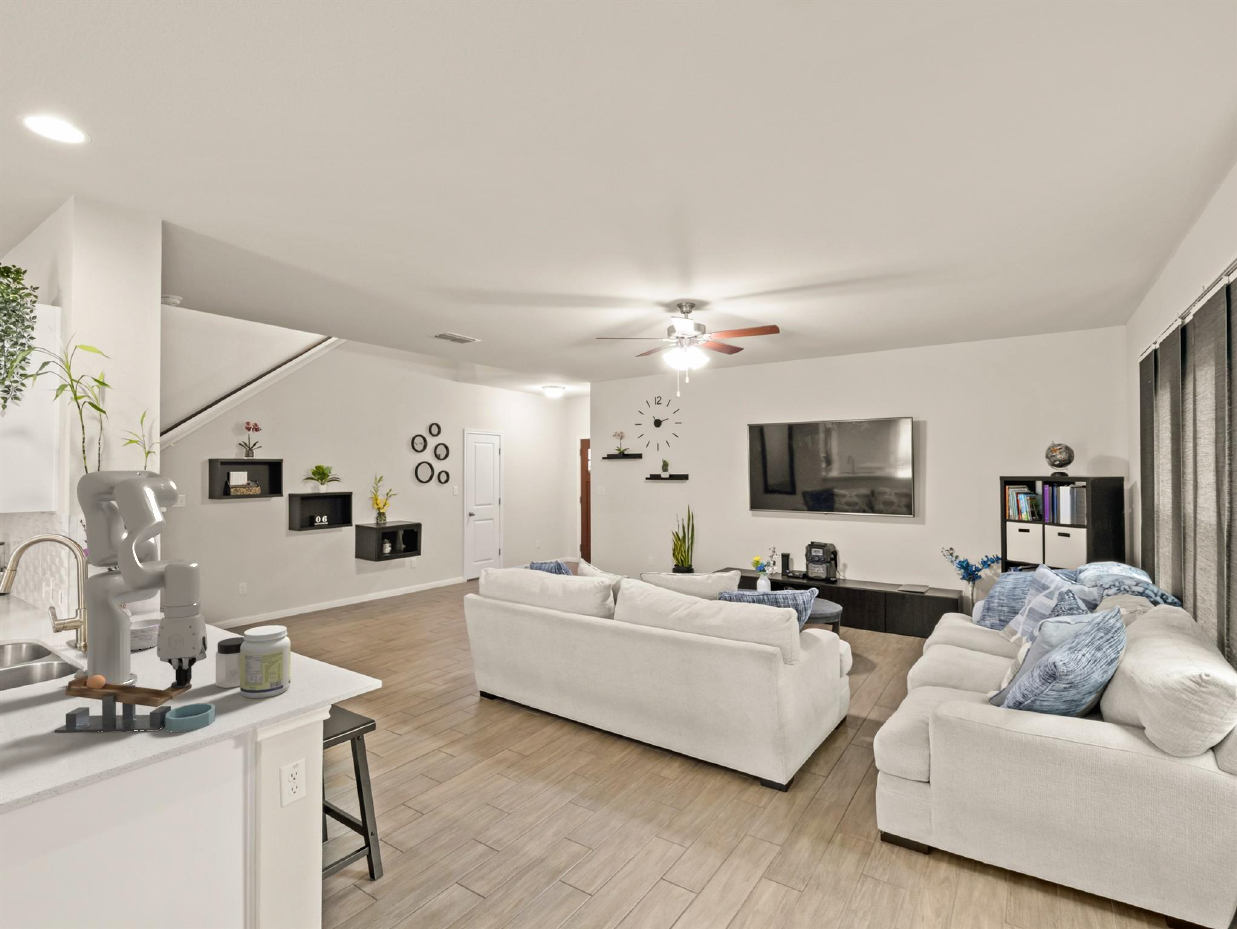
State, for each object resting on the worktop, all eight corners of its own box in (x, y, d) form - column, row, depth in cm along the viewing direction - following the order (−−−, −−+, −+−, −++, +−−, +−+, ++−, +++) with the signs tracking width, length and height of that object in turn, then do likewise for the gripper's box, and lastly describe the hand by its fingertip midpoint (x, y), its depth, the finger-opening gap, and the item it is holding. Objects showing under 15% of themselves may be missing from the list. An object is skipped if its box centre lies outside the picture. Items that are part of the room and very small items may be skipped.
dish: (156, 732, 150) (156, 719, 150) (182, 715, 159) (182, 703, 159) (199, 731, 150) (199, 718, 150) (223, 714, 160) (223, 702, 160)
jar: (216, 690, 176) (216, 647, 176) (215, 681, 183) (215, 639, 183) (253, 684, 181) (253, 642, 181) (251, 676, 188) (251, 635, 188)
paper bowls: (119, 643, 220) (119, 620, 220) (172, 638, 227) (172, 616, 227) (105, 656, 206) (105, 631, 206) (162, 650, 213) (162, 626, 213)
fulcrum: (54, 732, 149) (54, 698, 149) (82, 718, 157) (82, 685, 157) (157, 731, 150) (157, 696, 150) (180, 716, 159) (180, 683, 159)
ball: (80, 680, 152) (95, 675, 152) (91, 675, 155) (106, 670, 155) (85, 694, 152) (100, 689, 152) (96, 689, 155) (111, 684, 155)
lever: (65, 695, 151) (67, 681, 151) (106, 676, 164) (108, 663, 164) (159, 707, 152) (161, 694, 152) (192, 687, 165) (194, 675, 165)
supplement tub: (257, 683, 182) (257, 623, 182) (299, 684, 182) (299, 624, 182) (229, 699, 170) (229, 635, 170) (274, 700, 170) (275, 636, 170)
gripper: (141, 615, 158) (142, 690, 158) (204, 613, 159) (205, 687, 159) (161, 608, 166) (162, 680, 166) (221, 607, 167) (222, 677, 167)
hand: (183, 683), depth 163 cm, fingers closed
